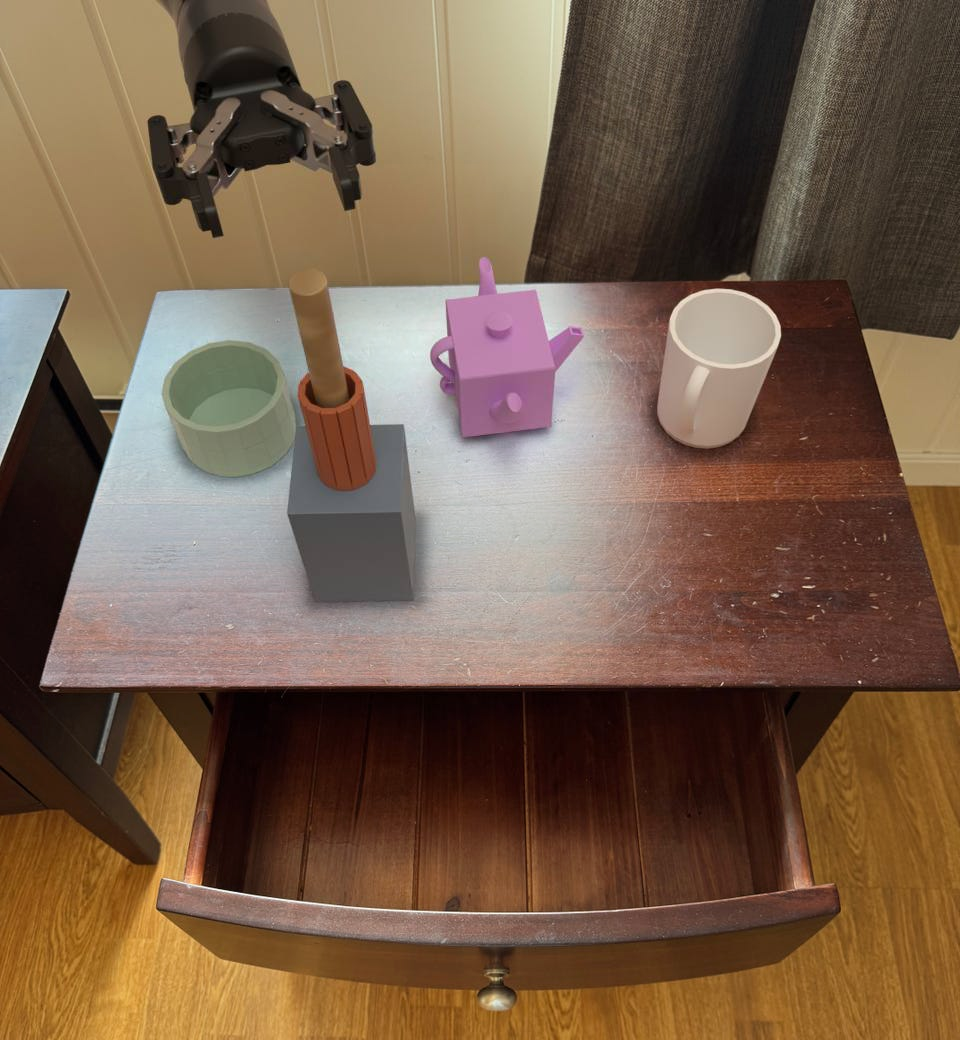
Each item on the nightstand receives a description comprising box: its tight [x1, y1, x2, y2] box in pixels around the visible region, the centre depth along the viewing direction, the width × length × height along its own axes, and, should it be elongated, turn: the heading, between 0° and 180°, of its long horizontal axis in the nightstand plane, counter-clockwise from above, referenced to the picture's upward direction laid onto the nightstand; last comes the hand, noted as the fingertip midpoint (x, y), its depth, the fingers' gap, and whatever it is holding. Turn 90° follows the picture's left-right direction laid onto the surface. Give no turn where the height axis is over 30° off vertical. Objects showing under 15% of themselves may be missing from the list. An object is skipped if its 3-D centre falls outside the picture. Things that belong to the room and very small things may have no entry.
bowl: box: [161, 339, 297, 478], centre depth 84 cm, size 10×10×6 cm
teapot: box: [429, 256, 585, 438], centre depth 84 cm, size 18×13×10 cm
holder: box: [286, 365, 417, 603], centre depth 71 cm, size 8×8×20 cm
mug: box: [656, 288, 782, 450], centre depth 82 cm, size 11×9×10 cm
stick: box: [288, 268, 350, 408], centre depth 62 cm, size 2×2×16 cm
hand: (282, 211), depth 61 cm, fingers open, 8 cm apart
